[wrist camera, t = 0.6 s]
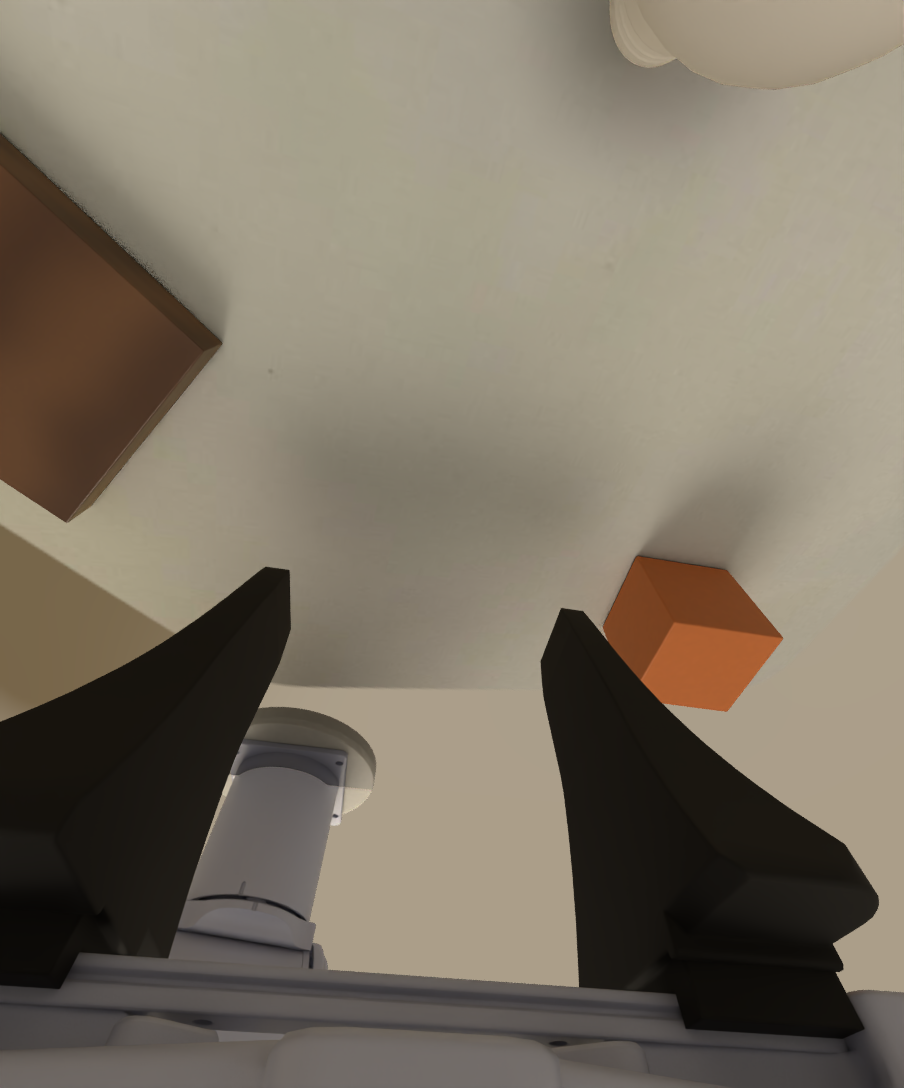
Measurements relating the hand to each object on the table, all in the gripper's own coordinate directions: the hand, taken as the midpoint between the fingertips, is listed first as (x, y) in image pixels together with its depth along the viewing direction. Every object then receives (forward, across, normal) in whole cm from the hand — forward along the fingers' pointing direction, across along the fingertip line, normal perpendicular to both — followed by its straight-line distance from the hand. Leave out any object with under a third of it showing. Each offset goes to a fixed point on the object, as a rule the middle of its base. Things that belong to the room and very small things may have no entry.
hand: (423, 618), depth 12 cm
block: (+8, -12, +4) cm, 15 cm away
